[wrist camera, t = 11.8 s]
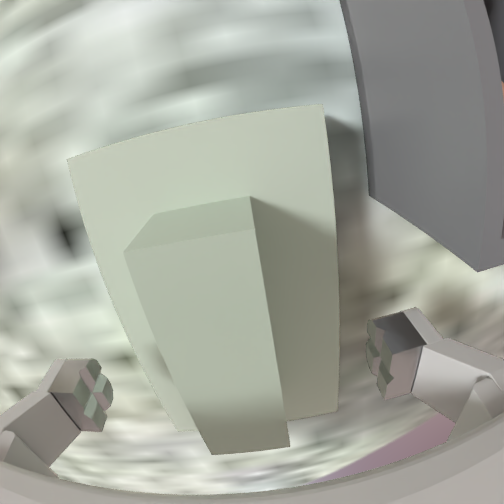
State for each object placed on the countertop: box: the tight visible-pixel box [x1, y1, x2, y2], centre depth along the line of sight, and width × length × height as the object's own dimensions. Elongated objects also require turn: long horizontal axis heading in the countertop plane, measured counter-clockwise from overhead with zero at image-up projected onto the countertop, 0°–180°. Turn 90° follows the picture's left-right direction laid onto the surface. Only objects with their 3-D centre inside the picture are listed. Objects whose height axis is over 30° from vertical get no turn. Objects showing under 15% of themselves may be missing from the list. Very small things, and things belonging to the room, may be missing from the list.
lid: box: [67, 104, 340, 455], centre depth 10 cm, size 13×8×5 cm, turn 9°
